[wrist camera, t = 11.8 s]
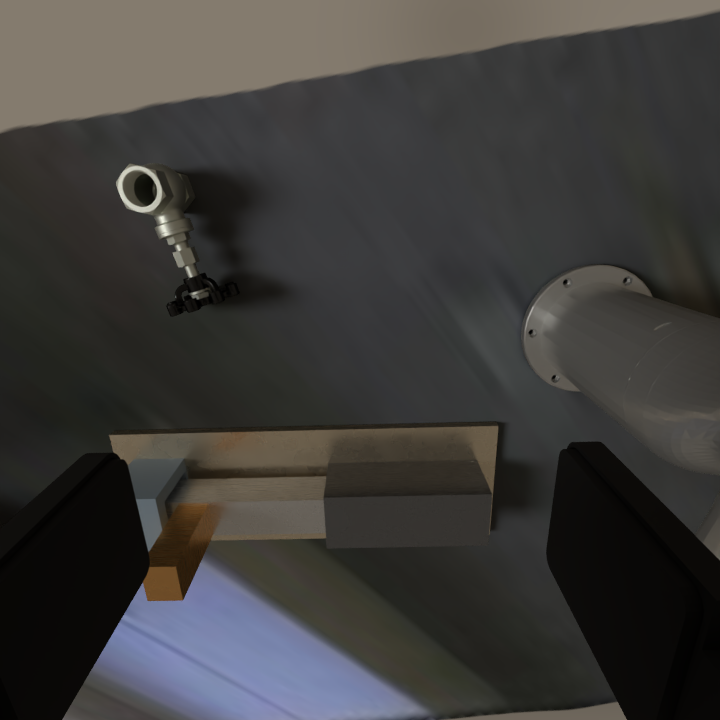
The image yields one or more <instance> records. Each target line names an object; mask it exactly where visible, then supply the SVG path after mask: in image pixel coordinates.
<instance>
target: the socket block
mask: <svg viewBox="0 0 720 720" xmlns="http://www.w3.org/2000/svg"><path fill="white" fill-rule="evenodd" d="M128 468H129V472H130V476H131V481H132V485H133V489H134V493H135V498H136V502H137V506H138V510H139V514H140V519H141V523H142V527H143V531H144V536H145V540H146V544H147V548H148V553H149V551H150V549H151V548H152V546H153V545H154V543H155V541H156V540H157V538H158V537H159V535H160V533H161V532H162V530H163V528H164V527H165V525H166V524H167V522H168V517H167V512H166V507H165V500H166V499H167V497H168V496H169V494H170V493H171V491H172V490H173V488H174V487H175V485H176V484H177V482H178V481H179V480H182V479H188V476H187V470H186V465H185V460H184V458H171V459H134V460H133V461H132V462H131V463H130V464H129V465H128Z"/></svg>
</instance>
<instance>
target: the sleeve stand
mask: <svg viewBox="0 0 720 720" xmlns="http://www.w3.org/2000/svg"><path fill="white" fill-rule="evenodd" d="M109 436H110V440H111V444H112V448H113V452H114V453H116V454H117V455H118V456H119V457H120V459H123V460H125V461H126V462H127V465H129V464H130V463H131V462H132V461H133V460H134V459H171V458H184V460H185V465H186V470H187V476H188V479H228V478H274V477H320V476H326V482H325V490H324V497H323V500H324V514H325V529H326V533H310V534H258V535H213V536H212V538H211V540H259V539H312V538H326V543H327V548H374V547H427V546H481V545H488V542H489V535H490V524H491V512H492V499H493V487H494V475H495V462H496V450H497V438H498V424H497V423H496V422H455V423H413V424H371V425H329V426H287V427H245V428H202V429H160V430H118V431H113V432H112V433H111V434H110V435H109Z"/></svg>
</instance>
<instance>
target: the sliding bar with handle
mask: <svg viewBox="0 0 720 720" xmlns="http://www.w3.org/2000/svg"><path fill="white" fill-rule="evenodd" d="M325 482H326V476H320V477H274V478H228V479H182V480H179V481H178V482H177V484H176V485H175V487H174V488H173V490H172V491H171V493H170V494H169V496H168V497H167V499H166V500H165V507H166V512H167V517H168V522H167V524H166V525H165V527H164V528H163V530H162V532H161V533H160V535H159V537H158V538H157V540H156V541H155V543H154V545H153V546H152V548H151V549H150V551H149V557H150V565H149V570H148V573H147V575H146V577H145V579H144V581H143V584H144V588H145V592H146V596H147V600H148V601H176V600H183V599H184V597H185V595H186V593H187V591H188V588H189V586H190V584H191V582H192V580H193V577H194V575H195V573H196V571H197V569H198V567H199V564H200V562H201V560H202V558H203V556H204V553H205V551H206V549H207V547H208V545H209V543H210V540H211V538H212V536H213V535H258V534H310V533H326V529H325V514H324V500H323V497H324V490H325Z"/></svg>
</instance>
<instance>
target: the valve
mask: <svg viewBox="0 0 720 720" xmlns="http://www.w3.org/2000/svg"><path fill="white" fill-rule="evenodd" d="M116 185H117V188H118V191H119V194H120V196H121V198H122V200H123V202H124V204H125V206H126V208H127V209H130V210H133V211H137V212H141V213H146V214H150V215H152V216H153V217H154V218H155V220H156V222H157V224H158V226H157V227H155V230H156V232H157V235H158V237H159V239H167V241H168V244H169V245H174V247H175V249H176V251H177V252H174V253H173V256H174V258H175V260H176V263H177V265H178V267H184V268H185V270H186V273H187V275H188V278H186V279H184V280H183V281H184V283H185V284H183V285H181V286H179V287H178V288H177V290H176V292H175V299H176V300H175V301H172V302H170V303H167V306H166V307H167V309H168V312H169V314H170V316H171V317H172V316H176V315H179V314H181V313H183V312H184V311H187V312H189V313H190V312H194V311H196V310H199V309H200V308H201V307H202V306H204V305H207V304H210V303H212V304H217V303H220V302H222V301H224V300H225V297H232V296H235V295H238V294H239V293H240V292H239V290H238V287H237V284H236V283H234V282H230V283H227V284H225V286H226V288H222V289H219V287H218V285H217V283H216V282H215V281H214V280H213V279H211V278H208V277H207V276H206V273H201V274H199V271H198V269H197V266H196V264H195V263H197V262H199V261H200V260H199V257H198V255H197V252H196V250H195V247H189V244H188V240H190V239H191V238H190V235H189V233H188V232H190V231H192V230H194V228H193V225H192V223H191V220H190V218H185V216H184V212H185V210H186V209H187V208H188V207H189V205H190V204H191V203H192V201H193V200H194V199H195V194H194V191H193V189H192V186H191V184H190V181H189V179H188V176H187V175H184V174H180V173H177V172H175V171H174V170H173V169H171V168H170V167H168V166H166V165H163V164H157V163H151V164H146V165H143V166H141V165H135V164H129V165H128V166H127V167H126V169H125V170H124V171H123V172H122V174H121V175H120V177H119V178H118V180H117V182H116ZM186 290H188V293H189V295H187V296H184V299H185V301H183V299H182V296H181V295H182V292H184V291H186Z"/></svg>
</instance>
